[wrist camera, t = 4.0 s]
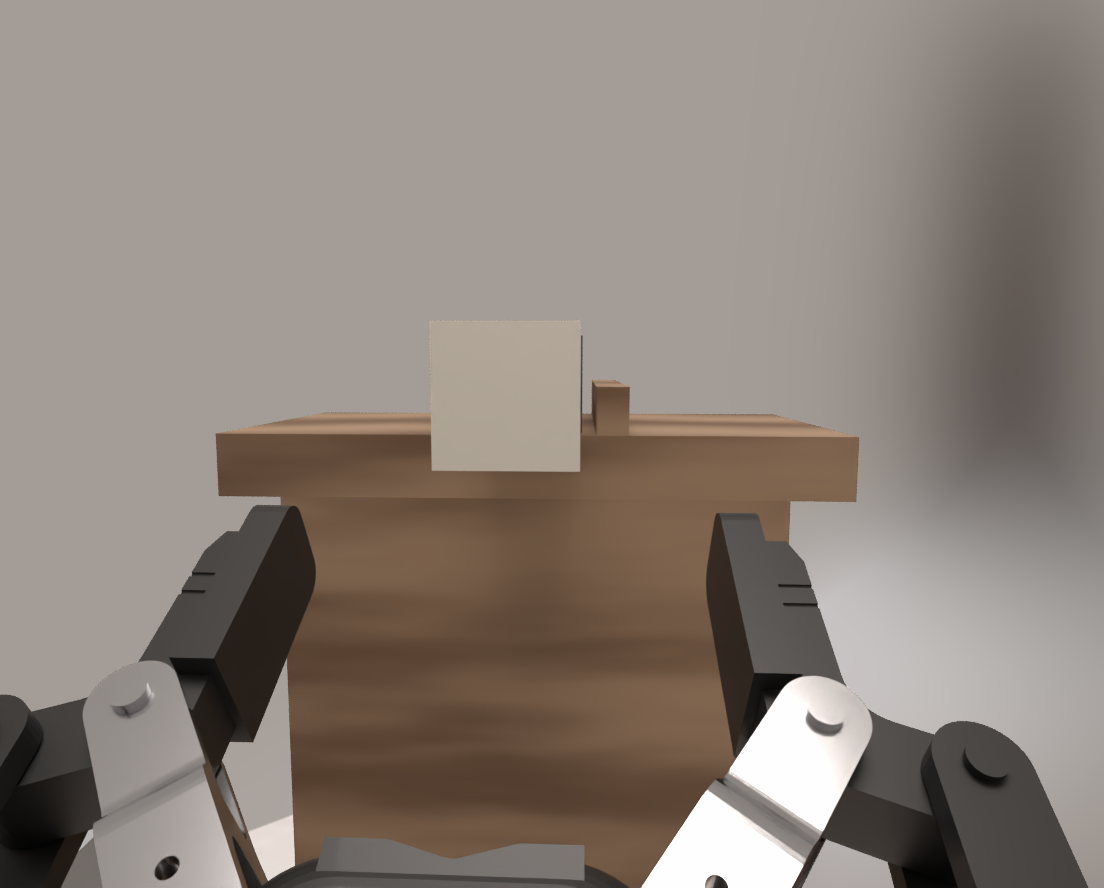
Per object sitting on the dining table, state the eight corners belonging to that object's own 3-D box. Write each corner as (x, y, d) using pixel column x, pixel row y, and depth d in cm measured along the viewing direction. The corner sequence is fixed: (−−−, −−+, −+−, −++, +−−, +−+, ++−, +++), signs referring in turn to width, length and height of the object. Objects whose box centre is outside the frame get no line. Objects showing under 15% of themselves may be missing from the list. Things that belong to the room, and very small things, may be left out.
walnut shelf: (815, 1339, 26) (861, 387, 22) (258, 1309, 26) (213, 385, 23) (750, 1067, 36) (774, 380, 32) (346, 1051, 36) (325, 379, 33)
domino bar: (582, 474, 15) (583, 318, 14) (429, 473, 15) (426, 318, 14) (581, 413, 32) (582, 343, 32) (512, 413, 33) (512, 343, 32)
